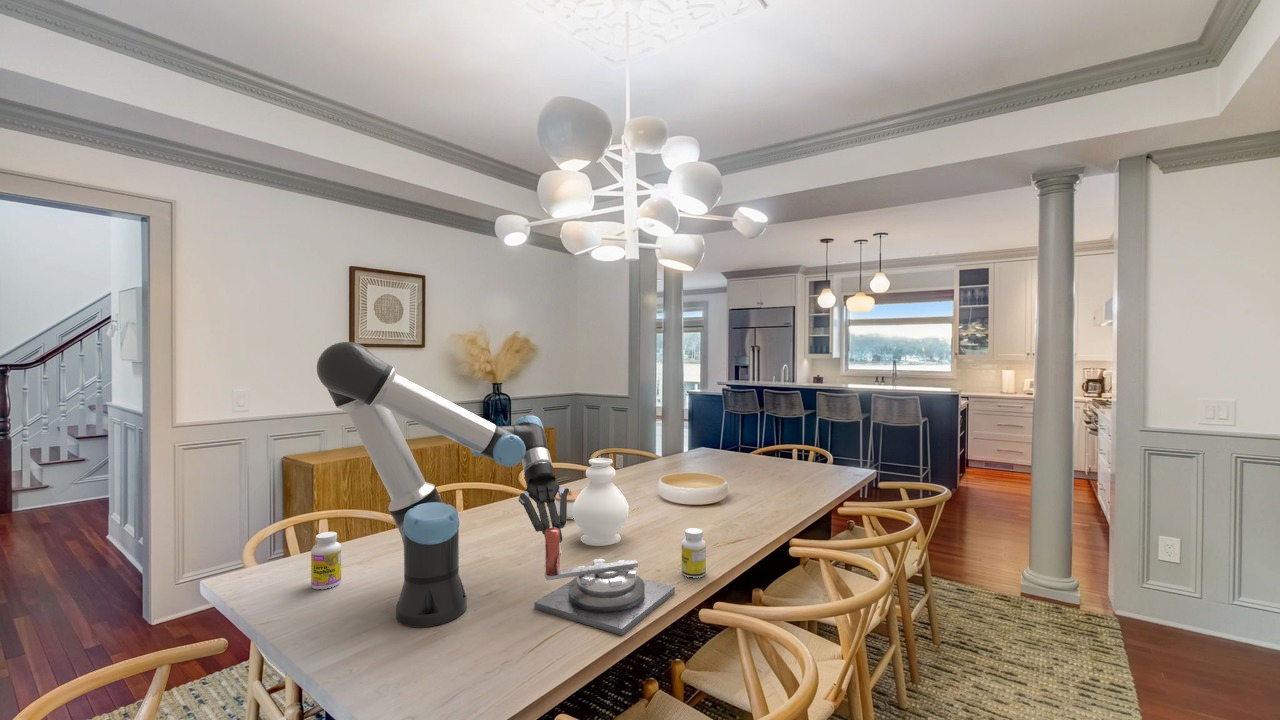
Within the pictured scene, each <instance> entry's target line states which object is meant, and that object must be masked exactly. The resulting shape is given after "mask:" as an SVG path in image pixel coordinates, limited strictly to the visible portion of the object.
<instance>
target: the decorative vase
mask: <svg viewBox="0 0 1280 720" xmlns="http://www.w3.org/2000/svg"><path fill="white" fill-rule="evenodd" d="M613 463H614V462H613V459H612V458H608V457H595V458H590V459H589V460H588V464H589V465H590V466H588V468H587V469H586V470H585V477H586V478H587V479H588V480H589V481H590V482H589V483H588V484H587V485H586V486H585V487H584V488H583V489H582V490H581V491H579V492H580V494H579V495H578V497H577V498H576V500H575V502H574V504H573V508H572V515H573V518H574V519H573V520H574V522H575V523H576V525H577V526H578V527H579V529H581V531H582V532H583V533H584V534H582V535H581V537H580V542H581V541H582V542H581V543H583V544H584V545H587V546H593V547H606V546H607V547H608V546H612V545H615V544H617V543H619V542H620V541H621V540H622V539H621V535H620V534H619V533H618V531H619V530H621V528H622V526H623V525H624V524H625V523H626V521H627V519H628V517H629V514H630V510H629V509H630V507H629V503H628V500H627V499H626V496H625V495H624V494H623V493H622V492H621V490H620V489H619V488H618V487H617V486H616V485H615V484H614V483H613V482H612V480H613V479H614V478H615V477H616V474H617V473H616V469H615V468H614V467H613V466H611V465H612V464H613Z"/></svg>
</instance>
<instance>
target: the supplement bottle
mask: <svg viewBox="0 0 1280 720" xmlns="http://www.w3.org/2000/svg"><path fill="white" fill-rule="evenodd" d="M337 539H338V533H337V532H335V531H325V532H321V533H319V534H316V535H315V542H316V544H315V545H313V546H312V549H311V550H310V551H311V553H310V556H311V557H310V558H311V559H310V561H311V562H310V563H311V564H310V565H311V566H310V569H311V570H310V571H311V572H310V576H311V577H310V584H311V588H312V589H314V590H319V589H321V590H328V589H327V588H329V589H332V588H335V587H337V586H339V584H341V581H342V544H341V543H340V542H338V541H337ZM334 586H335V587H334ZM331 587H332V588H331Z"/></svg>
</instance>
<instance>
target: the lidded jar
mask: <svg viewBox="0 0 1280 720" xmlns="http://www.w3.org/2000/svg"><path fill="white" fill-rule="evenodd" d="M580 492H581V491H572V490H570V489H569V493H568V495H567V520H573V519H572V518H573V515H572V508H573V504H574V502H575V500H576V498H577V497H578V495H579V494H580ZM560 499H561V498H560V497H559V493H557V494H556V496H555V505H556V509H557V513H558V516H560Z"/></svg>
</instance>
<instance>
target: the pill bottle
mask: <svg viewBox="0 0 1280 720" xmlns="http://www.w3.org/2000/svg"><path fill="white" fill-rule="evenodd" d="M703 533H704V531H703V529H701V528H697V527H690V528H686V529H685V530H684V537H685V538H683V540H682V541H681V574H682V575H683V576H685V577H686V576H687V577H686V578H689V577H693V578H692V579H699V578H701V577H704V576H705V575H706V572H707V571H706V569H707V568H706V567H707V566H706V565H707V543H706V541H705V540H704V539H703V535H704V534H703ZM698 577H699V578H698Z"/></svg>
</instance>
